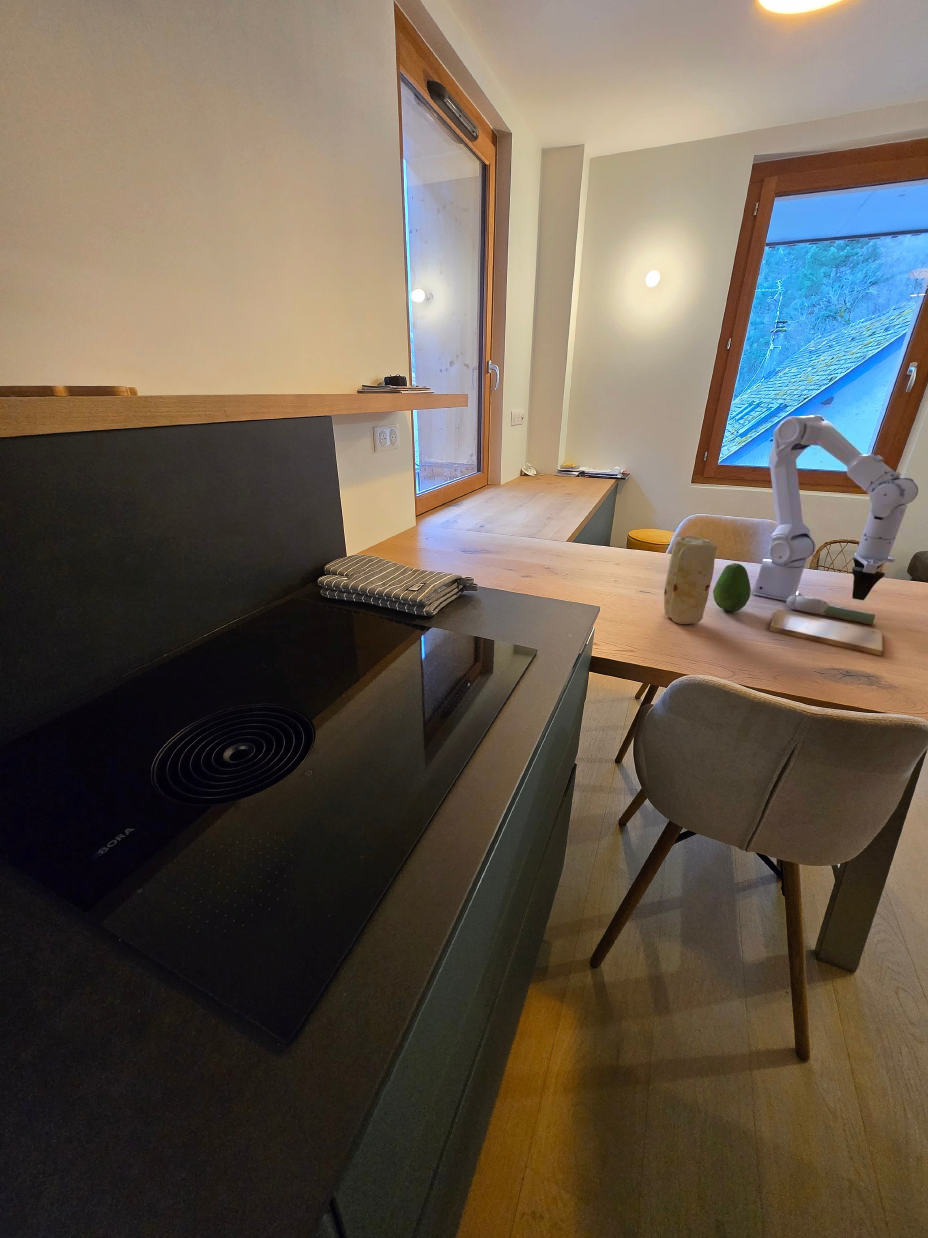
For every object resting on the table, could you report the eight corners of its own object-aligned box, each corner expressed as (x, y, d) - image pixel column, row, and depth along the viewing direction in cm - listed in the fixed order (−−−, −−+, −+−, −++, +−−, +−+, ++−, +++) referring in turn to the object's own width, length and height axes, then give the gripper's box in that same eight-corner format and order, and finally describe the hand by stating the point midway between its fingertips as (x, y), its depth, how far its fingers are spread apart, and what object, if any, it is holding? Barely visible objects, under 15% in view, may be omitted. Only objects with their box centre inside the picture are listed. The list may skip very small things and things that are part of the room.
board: (769, 630, 111) (770, 625, 111) (776, 613, 119) (777, 609, 119) (880, 655, 101) (882, 650, 100) (880, 635, 108) (881, 630, 108)
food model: (706, 620, 117) (724, 538, 108) (696, 630, 112) (714, 545, 103) (665, 609, 122) (679, 531, 114) (654, 618, 118) (668, 537, 109)
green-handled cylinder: (871, 621, 115) (876, 607, 113) (871, 627, 112) (876, 613, 110) (785, 604, 124) (789, 591, 122) (783, 609, 121) (787, 596, 120)
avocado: (717, 601, 127) (727, 556, 121) (749, 609, 122) (761, 563, 116) (704, 610, 122) (714, 564, 116) (738, 620, 117) (750, 572, 111)
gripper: (904, 547, 100) (880, 608, 105) (900, 531, 110) (879, 587, 116) (860, 541, 103) (840, 600, 109) (861, 526, 114) (843, 581, 120)
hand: (858, 593), depth 113 cm, fingers open, 7 cm apart
